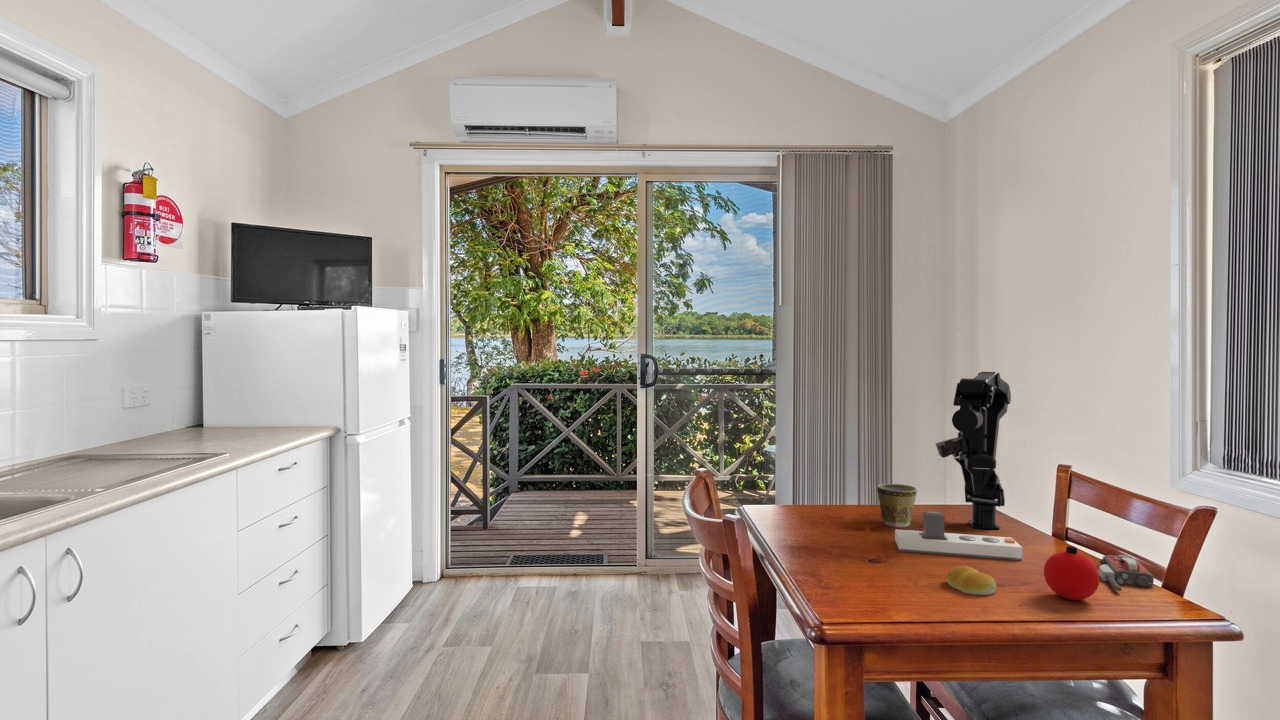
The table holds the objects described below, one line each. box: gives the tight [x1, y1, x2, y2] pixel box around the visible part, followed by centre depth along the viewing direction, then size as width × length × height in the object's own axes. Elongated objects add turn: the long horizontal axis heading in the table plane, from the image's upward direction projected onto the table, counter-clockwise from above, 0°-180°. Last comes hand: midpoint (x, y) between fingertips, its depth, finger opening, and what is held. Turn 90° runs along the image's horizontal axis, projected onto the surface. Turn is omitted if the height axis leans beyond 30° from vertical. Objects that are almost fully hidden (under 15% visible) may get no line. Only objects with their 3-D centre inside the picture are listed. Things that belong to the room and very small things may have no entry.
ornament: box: [1043, 545, 1101, 601], centre depth 128 cm, size 9×9×10 cm
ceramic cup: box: [876, 483, 918, 528], centre depth 183 cm, size 13×10×10 cm
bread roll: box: [945, 565, 997, 596], centre depth 134 cm, size 8×9×4 cm
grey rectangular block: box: [922, 510, 945, 540], centre depth 159 cm, size 4×4×8 cm
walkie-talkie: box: [1098, 554, 1155, 592], centre depth 139 cm, size 9×4×20 cm
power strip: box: [894, 528, 1023, 561], centre depth 158 cm, size 8×26×4 cm, turn 76°
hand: (972, 490), depth 168 cm, fingers open, 9 cm apart
